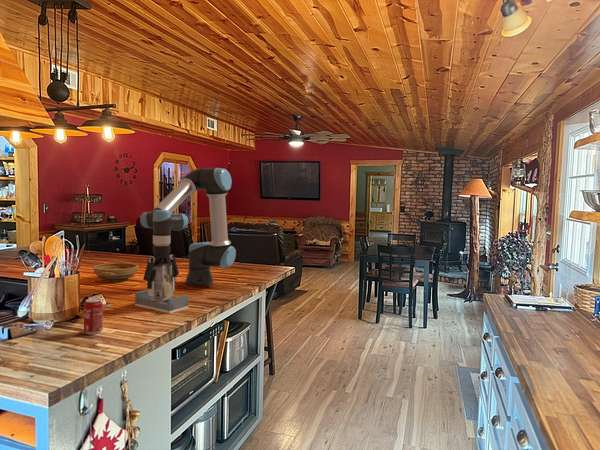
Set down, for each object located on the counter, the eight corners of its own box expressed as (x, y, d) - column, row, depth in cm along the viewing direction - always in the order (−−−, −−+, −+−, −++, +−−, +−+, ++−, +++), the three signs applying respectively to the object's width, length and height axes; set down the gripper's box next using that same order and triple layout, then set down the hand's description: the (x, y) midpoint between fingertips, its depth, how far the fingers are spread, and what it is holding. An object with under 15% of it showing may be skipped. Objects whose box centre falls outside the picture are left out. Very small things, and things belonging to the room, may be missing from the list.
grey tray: (154, 300, 208) (154, 288, 207) (188, 307, 197) (188, 294, 196) (135, 305, 198) (135, 292, 198) (169, 313, 187) (169, 299, 187)
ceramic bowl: (106, 274, 267) (106, 261, 266) (146, 275, 267) (146, 262, 267) (82, 284, 237) (82, 270, 237) (127, 285, 238) (127, 271, 237)
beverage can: (88, 329, 164) (87, 297, 163) (105, 329, 164) (105, 297, 163) (81, 335, 158) (80, 302, 157) (99, 335, 158) (98, 302, 157)
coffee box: (160, 296, 202) (160, 261, 201) (173, 297, 201) (173, 262, 200) (149, 300, 194) (149, 264, 192) (162, 302, 192) (162, 265, 191)
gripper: (175, 241, 207) (175, 287, 209) (134, 246, 187) (134, 297, 189) (187, 243, 204) (186, 289, 205) (146, 248, 184) (146, 299, 185)
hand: (161, 293), depth 197 cm, fingers open, 11 cm apart
